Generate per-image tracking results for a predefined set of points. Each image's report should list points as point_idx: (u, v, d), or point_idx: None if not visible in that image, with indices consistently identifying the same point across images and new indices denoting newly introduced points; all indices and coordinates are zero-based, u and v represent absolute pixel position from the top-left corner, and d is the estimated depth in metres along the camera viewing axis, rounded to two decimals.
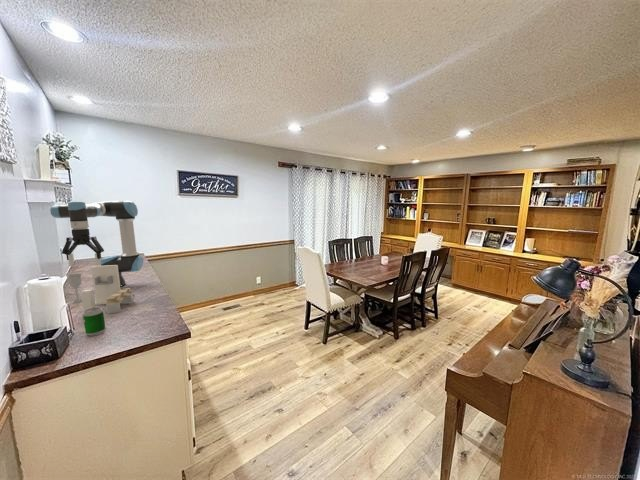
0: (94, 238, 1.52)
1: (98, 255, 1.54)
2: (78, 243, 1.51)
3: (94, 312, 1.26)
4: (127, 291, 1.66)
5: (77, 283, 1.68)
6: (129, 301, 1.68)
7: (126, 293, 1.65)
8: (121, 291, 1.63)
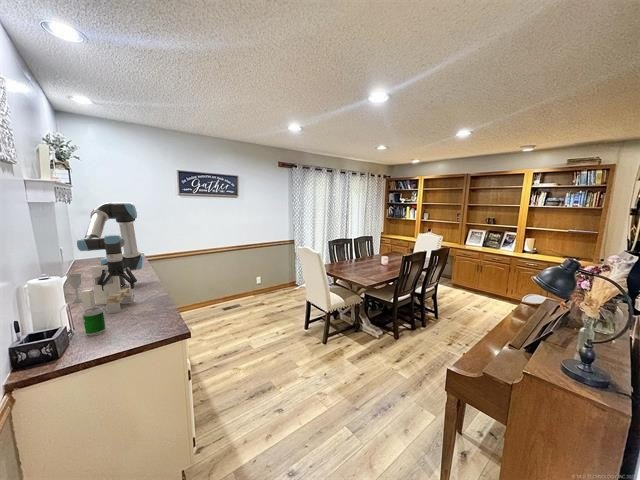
0: (128, 269, 1.59)
1: (132, 285, 1.60)
2: (113, 274, 1.57)
3: (94, 312, 1.26)
4: (127, 291, 1.66)
5: (77, 283, 1.68)
6: (129, 301, 1.68)
7: (126, 293, 1.65)
8: (121, 291, 1.63)
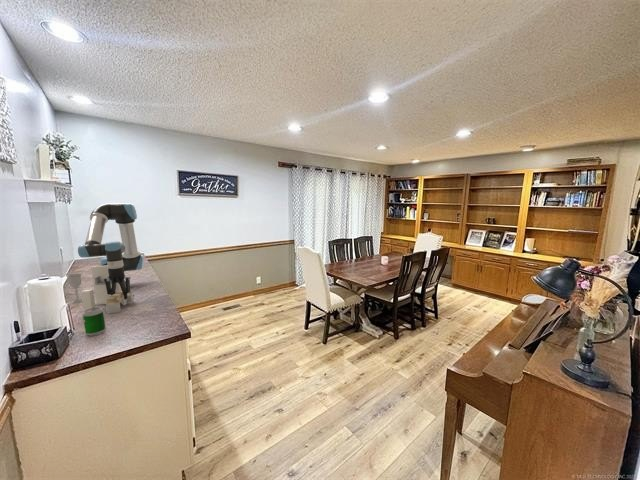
0: (128, 279, 1.60)
1: (125, 296, 1.61)
2: (114, 281, 1.58)
3: (94, 312, 1.26)
4: None
5: (77, 283, 1.68)
6: (129, 301, 1.68)
7: None
8: (121, 291, 1.63)
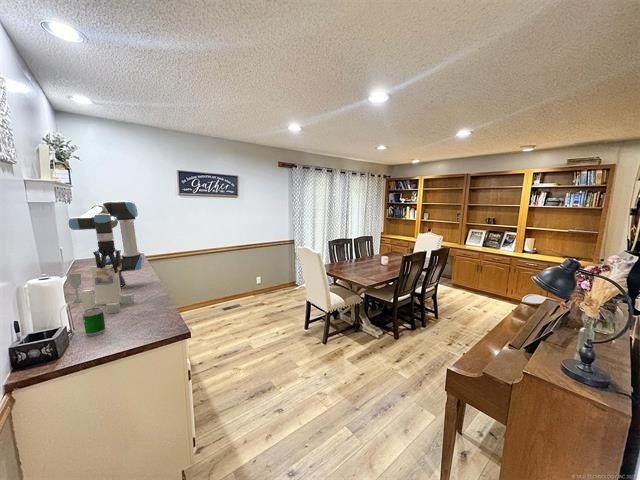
0: (119, 252, 1.57)
1: (115, 269, 1.58)
2: (104, 254, 1.55)
3: (94, 312, 1.26)
4: None
5: (77, 283, 1.68)
6: (129, 301, 1.68)
7: None
8: (111, 265, 1.60)
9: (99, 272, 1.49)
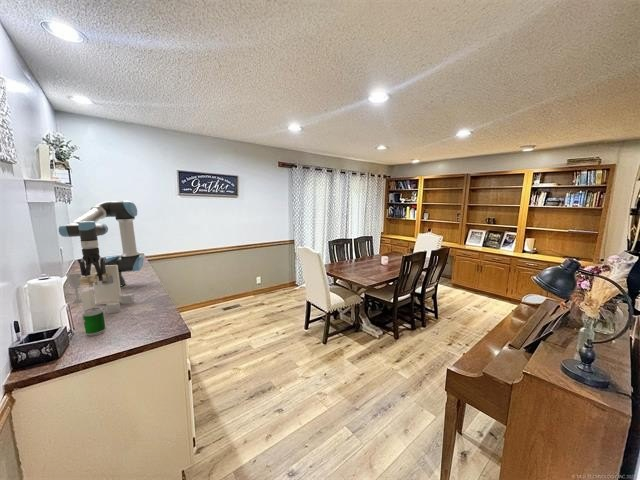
0: (103, 260, 1.56)
1: (100, 277, 1.57)
2: (88, 262, 1.54)
3: (94, 312, 1.26)
4: None
5: (77, 283, 1.68)
6: (129, 301, 1.68)
7: (102, 275, 1.61)
8: (96, 273, 1.59)
9: (82, 280, 1.48)
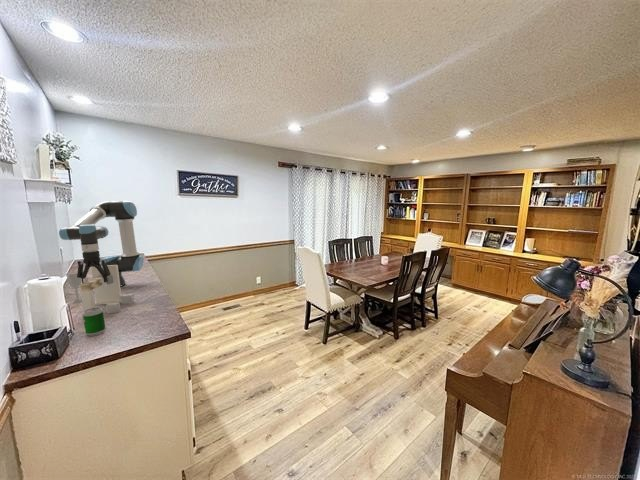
0: (104, 261, 1.56)
1: (105, 279, 1.57)
2: (89, 265, 1.54)
3: (94, 312, 1.26)
4: None
5: (77, 283, 1.68)
6: (129, 301, 1.68)
7: None
8: (97, 278, 1.60)
9: (83, 286, 1.48)
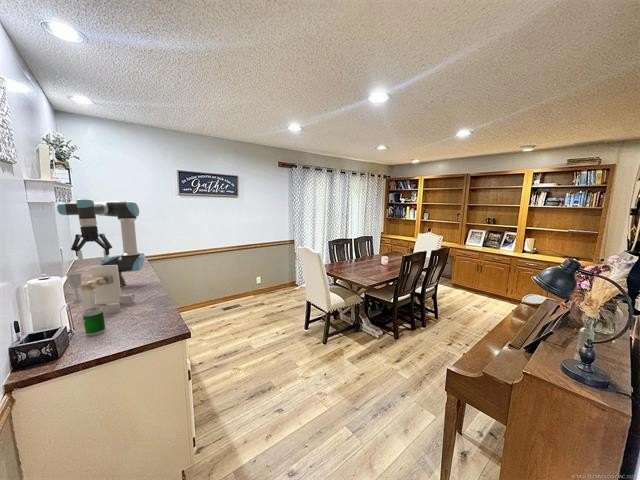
0: (102, 235, 1.56)
1: (106, 251, 1.58)
2: (87, 240, 1.55)
3: (94, 312, 1.26)
4: (104, 278, 1.63)
5: (77, 283, 1.68)
6: (129, 301, 1.68)
7: (102, 280, 1.61)
8: (97, 278, 1.60)
9: (83, 286, 1.48)
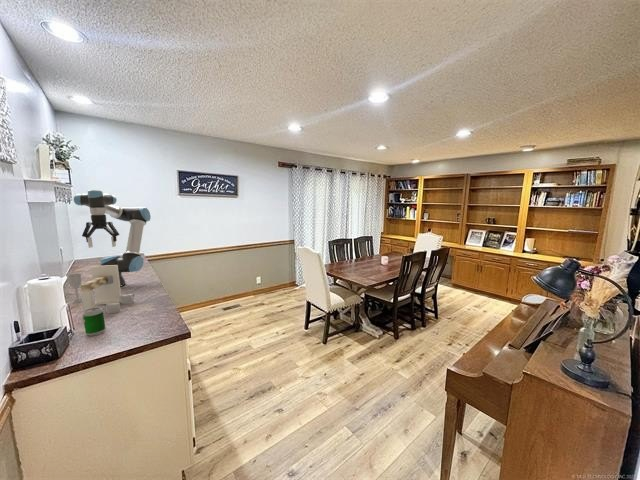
0: (110, 223, 1.72)
1: (114, 238, 1.73)
2: (96, 227, 1.70)
3: (94, 312, 1.26)
4: (104, 278, 1.63)
5: (77, 283, 1.68)
6: (129, 301, 1.68)
7: (102, 280, 1.61)
8: (97, 278, 1.60)
9: (83, 286, 1.48)
